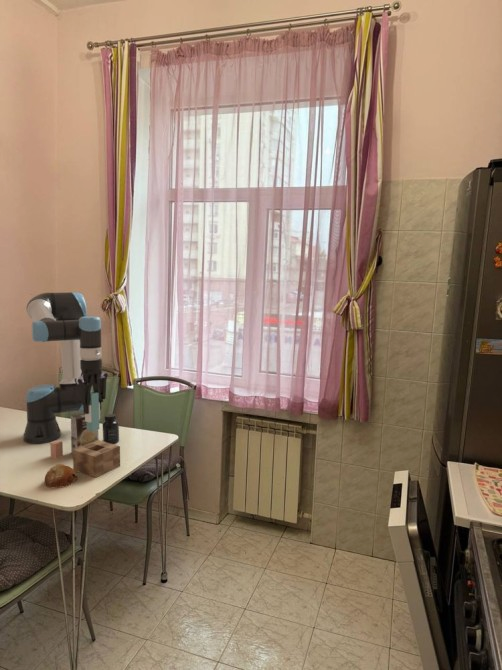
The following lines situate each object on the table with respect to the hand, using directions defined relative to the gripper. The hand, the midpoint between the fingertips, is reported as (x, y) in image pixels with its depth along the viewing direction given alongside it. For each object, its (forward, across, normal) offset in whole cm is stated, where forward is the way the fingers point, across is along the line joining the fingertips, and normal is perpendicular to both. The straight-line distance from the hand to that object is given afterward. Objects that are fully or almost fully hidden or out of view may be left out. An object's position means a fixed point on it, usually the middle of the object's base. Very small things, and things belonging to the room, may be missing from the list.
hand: (92, 420), depth 169 cm
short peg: (+19, 0, +22) cm, 29 cm away
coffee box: (+19, +9, +16) cm, 26 cm away
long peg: (+4, 0, 0) cm, 4 cm away
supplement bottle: (+19, +23, +16) cm, 34 cm away
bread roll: (+19, -13, +1) cm, 24 cm away
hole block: (+19, +1, 0) cm, 19 cm away
